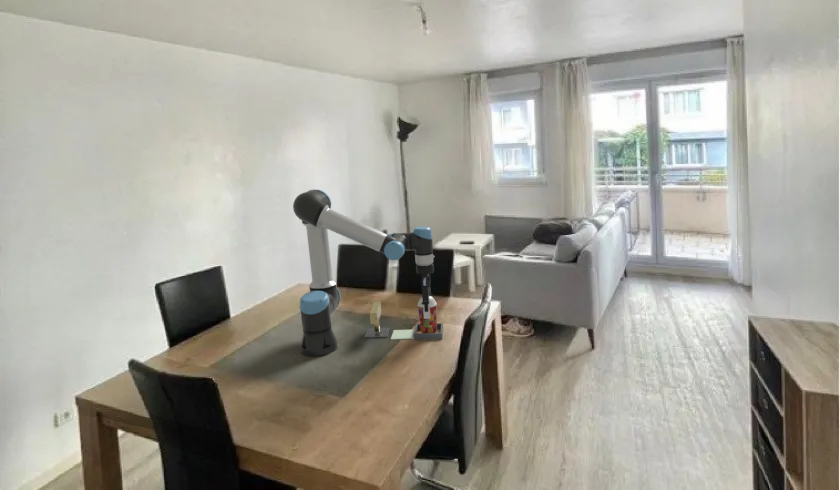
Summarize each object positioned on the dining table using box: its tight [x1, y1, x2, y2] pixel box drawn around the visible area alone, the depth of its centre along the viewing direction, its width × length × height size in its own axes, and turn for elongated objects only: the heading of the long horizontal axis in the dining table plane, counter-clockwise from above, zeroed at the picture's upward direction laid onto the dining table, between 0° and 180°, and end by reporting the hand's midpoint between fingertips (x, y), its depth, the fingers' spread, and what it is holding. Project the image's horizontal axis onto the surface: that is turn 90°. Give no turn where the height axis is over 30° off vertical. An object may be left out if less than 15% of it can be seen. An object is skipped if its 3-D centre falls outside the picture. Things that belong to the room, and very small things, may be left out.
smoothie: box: [417, 296, 438, 333], centre depth 214 cm, size 8×8×20 cm
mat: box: [390, 329, 415, 341], centre depth 216 cm, size 10×10×1 cm
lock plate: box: [363, 327, 391, 339], centre depth 220 cm, size 10×10×1 cm
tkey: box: [369, 301, 382, 332], centre depth 218 cm, size 15×3×11 cm, turn 178°
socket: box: [413, 322, 444, 341], centre depth 215 cm, size 12×12×2 cm
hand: (427, 314), depth 214 cm, fingers closed on smoothie, 8 cm apart
